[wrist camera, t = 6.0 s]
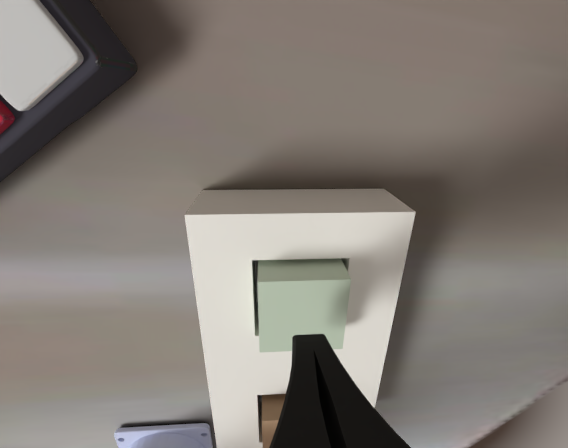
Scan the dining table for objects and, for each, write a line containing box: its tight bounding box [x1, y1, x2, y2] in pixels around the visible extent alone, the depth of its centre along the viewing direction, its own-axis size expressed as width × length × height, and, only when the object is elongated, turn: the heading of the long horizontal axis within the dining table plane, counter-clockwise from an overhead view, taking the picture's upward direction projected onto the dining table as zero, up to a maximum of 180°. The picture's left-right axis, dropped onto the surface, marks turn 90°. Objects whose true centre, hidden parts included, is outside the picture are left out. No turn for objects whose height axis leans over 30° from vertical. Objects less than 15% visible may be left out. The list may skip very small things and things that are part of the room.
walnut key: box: [262, 394, 286, 448], centre depth 20 cm, size 4×4×4 cm
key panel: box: [185, 189, 416, 448], centre depth 19 cm, size 20×11×4 cm, turn 179°
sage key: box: [257, 258, 351, 352], centre depth 16 cm, size 4×4×4 cm
